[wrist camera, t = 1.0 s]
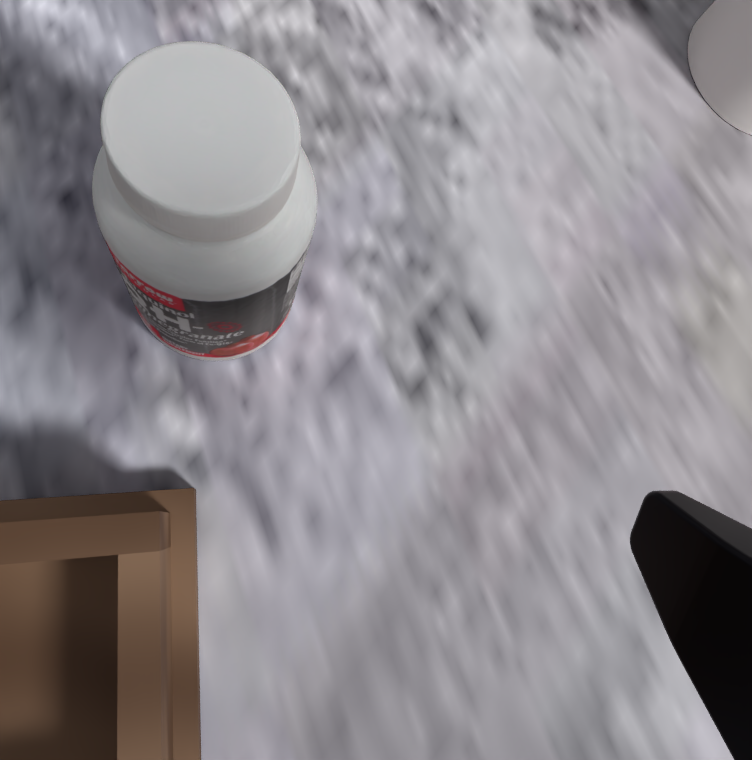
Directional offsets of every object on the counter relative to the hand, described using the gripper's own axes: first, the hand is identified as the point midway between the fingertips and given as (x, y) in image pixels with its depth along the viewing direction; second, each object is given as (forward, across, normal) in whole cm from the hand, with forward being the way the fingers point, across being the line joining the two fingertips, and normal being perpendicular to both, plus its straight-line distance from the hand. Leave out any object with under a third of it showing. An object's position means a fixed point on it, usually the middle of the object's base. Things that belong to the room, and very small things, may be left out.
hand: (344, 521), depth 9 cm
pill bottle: (+15, +2, +2) cm, 16 cm away
